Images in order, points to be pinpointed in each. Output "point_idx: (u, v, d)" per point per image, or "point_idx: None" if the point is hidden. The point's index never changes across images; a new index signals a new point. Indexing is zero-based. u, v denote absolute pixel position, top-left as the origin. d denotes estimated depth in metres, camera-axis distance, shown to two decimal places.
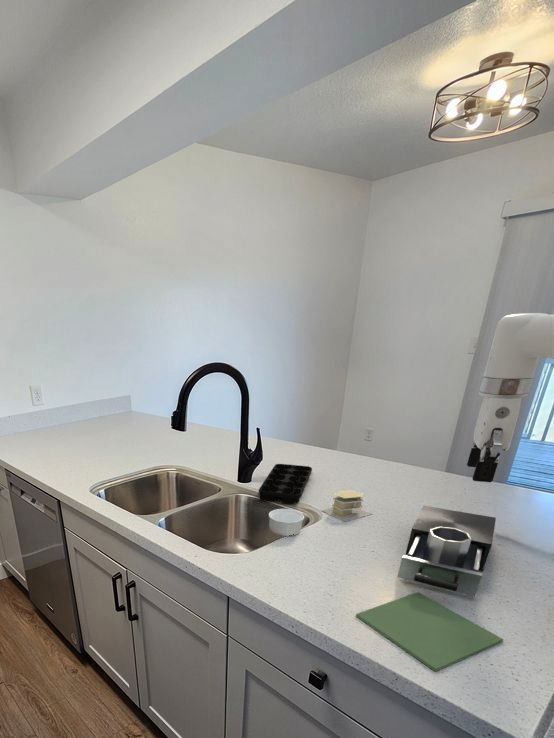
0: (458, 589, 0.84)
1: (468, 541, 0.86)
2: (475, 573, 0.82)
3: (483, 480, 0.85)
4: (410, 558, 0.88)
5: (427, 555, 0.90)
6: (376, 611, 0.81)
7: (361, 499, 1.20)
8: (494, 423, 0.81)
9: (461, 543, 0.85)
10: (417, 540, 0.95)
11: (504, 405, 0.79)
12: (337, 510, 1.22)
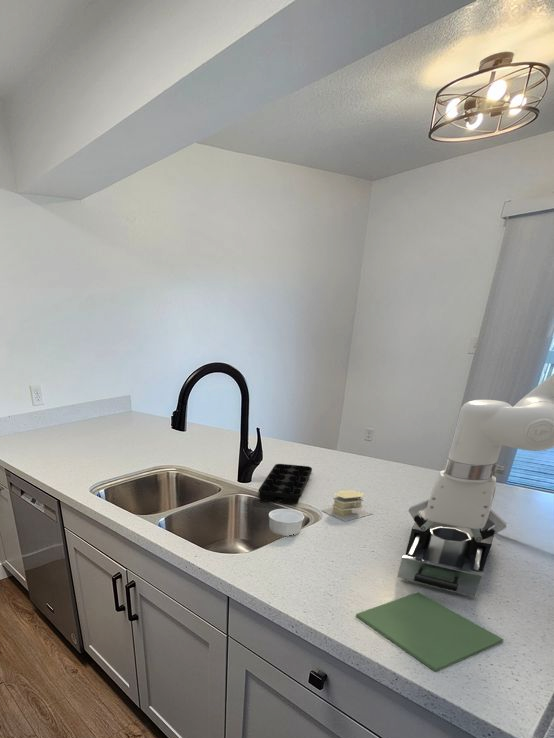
0: (458, 589, 0.84)
1: (468, 541, 0.86)
2: (475, 573, 0.82)
3: None
4: (410, 558, 0.88)
5: (427, 555, 0.90)
6: (376, 611, 0.81)
7: (361, 499, 1.20)
8: (491, 503, 0.81)
9: (461, 543, 0.85)
10: (417, 540, 0.95)
11: (495, 485, 0.80)
12: (337, 510, 1.22)
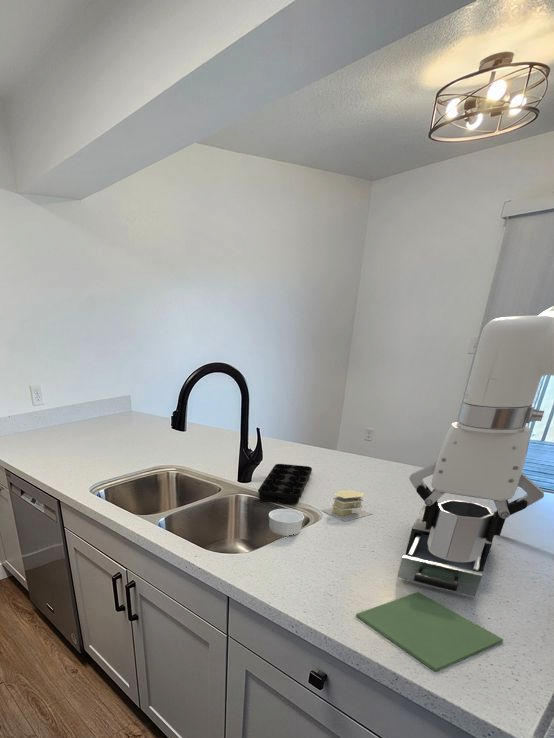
0: (458, 589, 0.84)
1: (490, 517, 0.63)
2: (475, 573, 0.82)
3: None
4: (410, 558, 0.88)
5: (434, 537, 0.68)
6: (376, 611, 0.81)
7: (361, 499, 1.20)
8: (523, 464, 0.59)
9: (480, 520, 0.63)
10: (417, 540, 0.95)
11: (529, 438, 0.58)
12: (337, 510, 1.22)
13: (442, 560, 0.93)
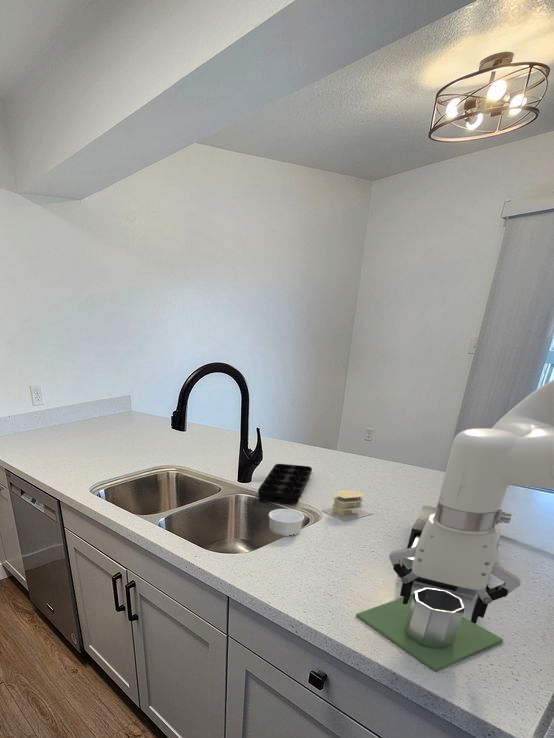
0: (458, 589, 0.84)
1: (461, 611, 0.69)
2: None
3: None
4: (410, 558, 0.88)
5: (411, 623, 0.73)
6: (376, 611, 0.81)
7: (361, 499, 1.20)
8: None
9: (452, 614, 0.68)
10: (417, 540, 0.95)
11: (498, 537, 0.63)
12: (337, 510, 1.22)
13: None
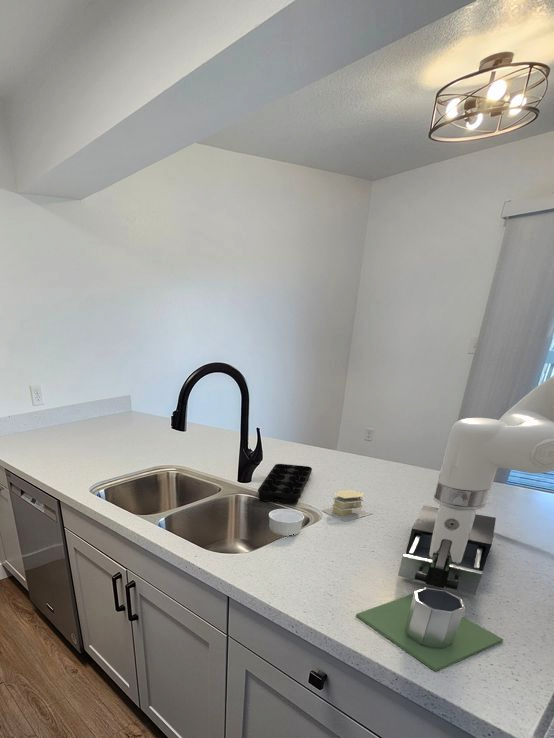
0: (458, 587, 0.85)
1: (461, 611, 0.69)
2: (475, 571, 0.82)
3: (435, 585, 0.81)
4: (411, 557, 0.88)
5: (411, 623, 0.73)
6: (376, 611, 0.81)
7: (361, 499, 1.20)
8: (443, 534, 0.73)
9: (452, 614, 0.68)
10: (418, 539, 0.95)
11: (453, 516, 0.72)
12: (337, 510, 1.22)
13: None
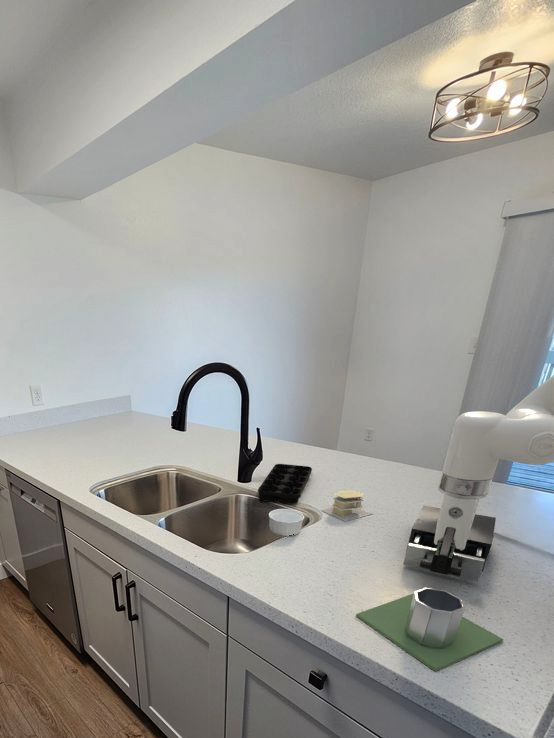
0: (461, 575, 0.89)
1: (461, 611, 0.69)
2: (477, 559, 0.86)
3: (439, 572, 0.85)
4: (416, 546, 0.92)
5: (411, 623, 0.73)
6: (376, 611, 0.81)
7: (361, 499, 1.20)
8: (447, 522, 0.77)
9: (452, 614, 0.68)
10: None
11: (457, 505, 0.76)
12: (337, 510, 1.22)
13: None
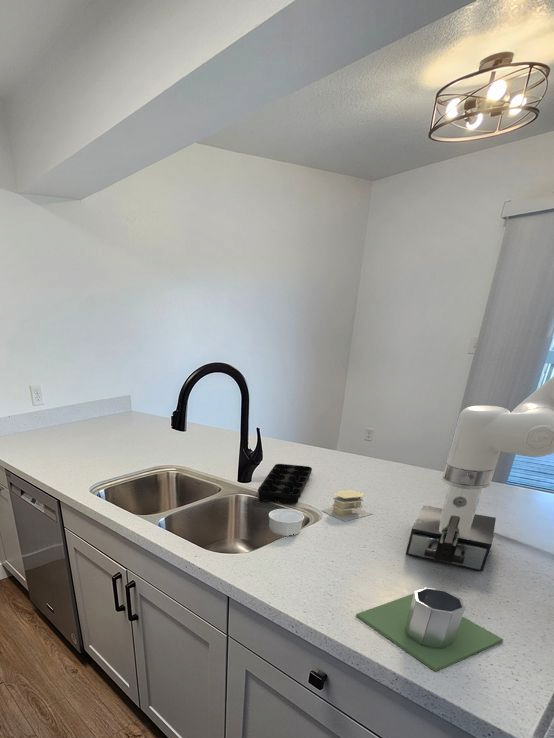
0: (464, 563, 0.93)
1: (461, 611, 0.69)
2: (480, 547, 0.90)
3: (444, 559, 0.89)
4: (420, 535, 0.96)
5: (411, 623, 0.73)
6: (376, 611, 0.81)
7: (361, 499, 1.20)
8: (452, 511, 0.81)
9: (452, 614, 0.68)
10: None
11: (461, 495, 0.80)
12: (337, 510, 1.22)
13: None
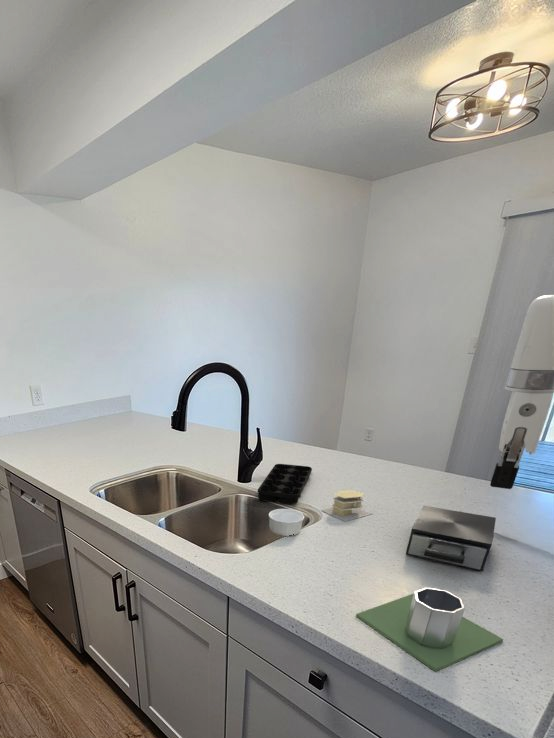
0: (464, 563, 0.93)
1: (461, 611, 0.69)
2: (480, 547, 0.90)
3: (502, 486, 0.78)
4: (420, 535, 0.96)
5: (411, 623, 0.73)
6: (376, 611, 0.81)
7: (361, 499, 1.20)
8: (517, 422, 0.70)
9: (452, 614, 0.68)
10: None
11: (529, 401, 0.69)
12: (337, 510, 1.22)
13: None
